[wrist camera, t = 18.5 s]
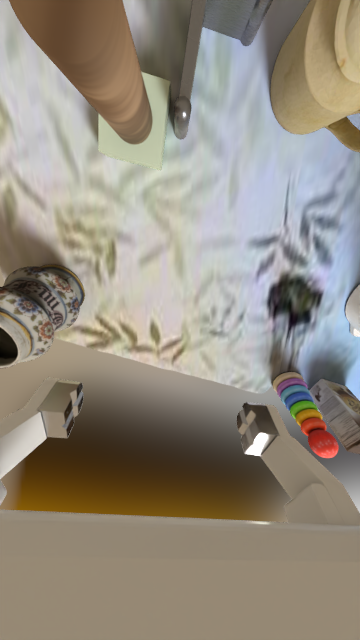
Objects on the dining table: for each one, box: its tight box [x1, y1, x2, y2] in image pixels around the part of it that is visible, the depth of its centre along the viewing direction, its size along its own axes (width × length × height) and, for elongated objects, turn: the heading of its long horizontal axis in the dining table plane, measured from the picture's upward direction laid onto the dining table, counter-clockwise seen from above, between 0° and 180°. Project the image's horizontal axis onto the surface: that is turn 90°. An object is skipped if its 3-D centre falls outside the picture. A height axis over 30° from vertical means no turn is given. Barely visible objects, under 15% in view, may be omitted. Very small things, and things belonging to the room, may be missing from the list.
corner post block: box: [174, 0, 272, 139], centre depth 22 cm, size 8×12×8 cm, turn 168°
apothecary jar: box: [0, 265, 85, 368], centre depth 32 cm, size 12×12×18 cm
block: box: [98, 72, 171, 170], centre depth 26 cm, size 8×8×4 cm
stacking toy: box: [273, 372, 338, 458], centre depth 47 cm, size 8×8×19 cm
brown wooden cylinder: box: [9, 0, 153, 145], centre depth 16 cm, size 5×5×18 cm
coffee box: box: [309, 379, 360, 454], centre depth 50 cm, size 9×6×16 cm
